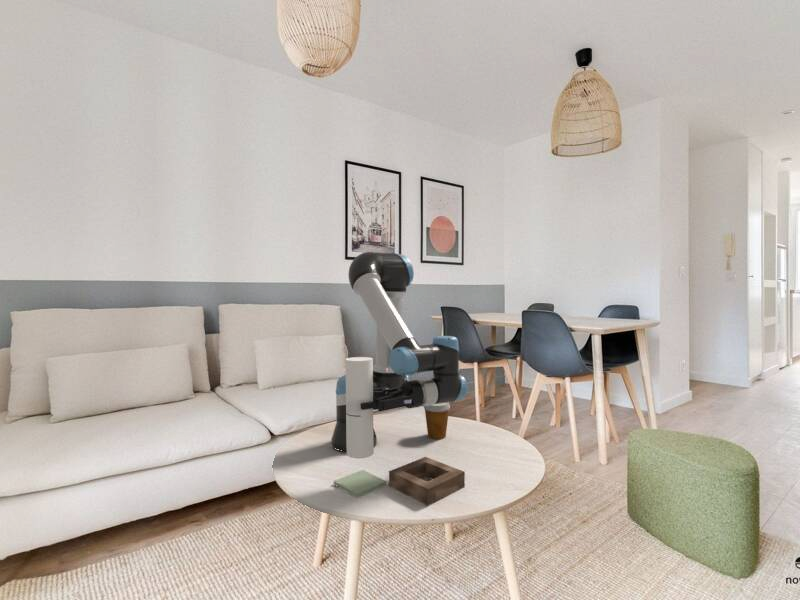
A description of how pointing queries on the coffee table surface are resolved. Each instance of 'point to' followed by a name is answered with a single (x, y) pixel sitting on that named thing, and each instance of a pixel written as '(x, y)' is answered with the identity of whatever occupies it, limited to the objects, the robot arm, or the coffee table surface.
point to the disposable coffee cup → (437, 420)
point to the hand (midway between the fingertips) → (342, 403)
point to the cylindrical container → (362, 421)
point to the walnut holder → (421, 490)
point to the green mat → (360, 483)
